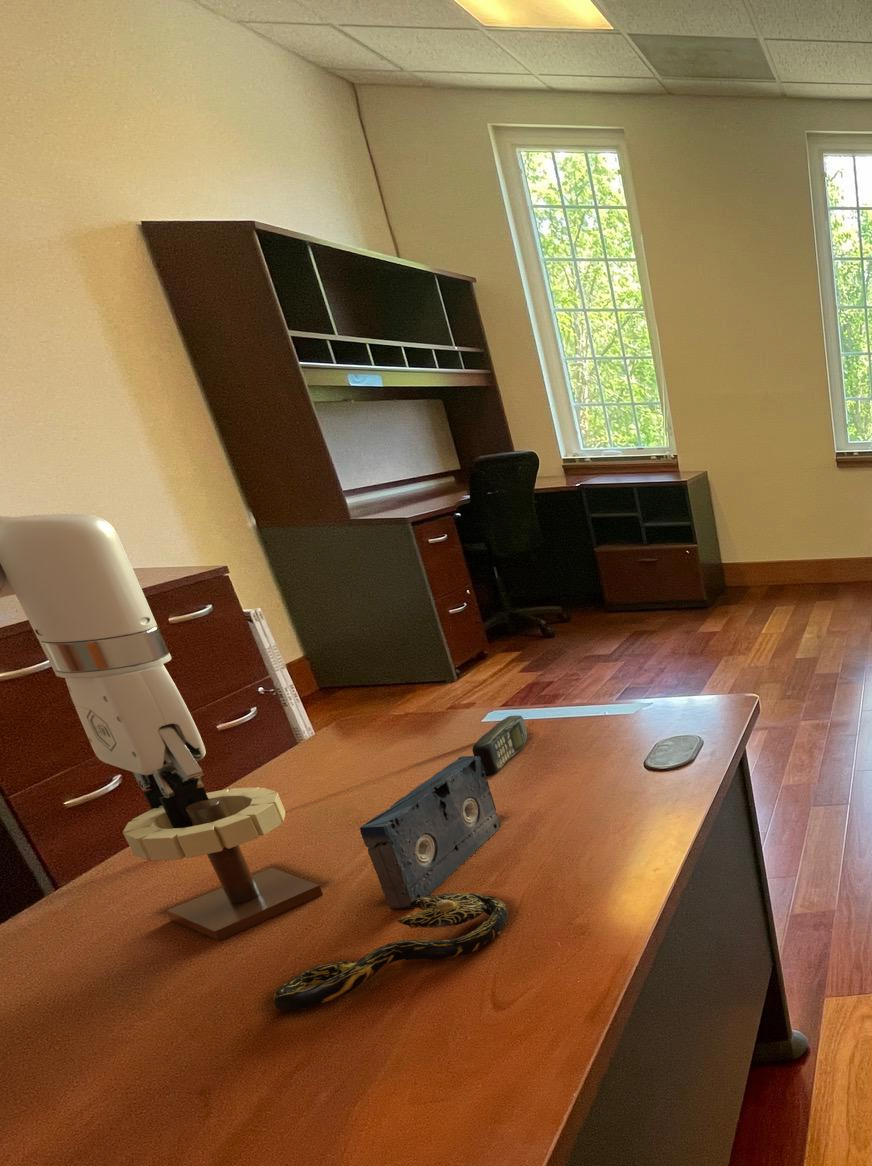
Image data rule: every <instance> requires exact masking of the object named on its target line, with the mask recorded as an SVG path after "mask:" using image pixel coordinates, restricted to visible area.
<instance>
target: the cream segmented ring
mask: <svg viewBox="0 0 872 1166" xmlns="http://www.w3.org/2000/svg"><path fill="white" fill-rule="evenodd" d="M206 794H207V796H208V799H209V800H218V801H219V802H220V805H221V807H222V809H223V811H224V813H225V816H226V818H223V819H220V820H217V821H214V822H211V823H206V824H201V825H196V826H191V827H186V828H173V826H172V824H171V822H170V820H169V818H168V816H167V814H166V812H165V810H164V808H163V806H159V808H153V809H151V808H150V809H149V810H148V811H146V812H144V813H141V814H140V815H137V816H136V817H134V818H132V819H130V820H131V821H129V822H127V824H126V825H125V827H124V829H123V830H122V835H123V837H124V838H125V841H126V842H127V844H128V846H129V848H130V850H131V852H132V854H133V855H134V856H136V857H138V858H141V859H143V860H145V861H149V860H151V862H157V861H159V862H160V861H176V860H179V861H180V860H182V859H184V858H186V859H191V858H192V859H193V858H196V857H200V856H205V855H206V856H207V854H210V853H215V852H219V851H222V850H223V847H225V848H228V849H230V848H232V847H235V846H238V845H239V846H240V845H242V844H246V843H248V842H251V841H254V840H256V839H259V838H260V836H265V835H267V834H268V833H270V832H271V831H273V830H274V829H276V828H278V827H280V826H281V825H282V824H283V823H284V821H285V819H286V818H285V817H286V813H287V812H286V810H285V807H284V805H283V802H282V800H281V798H280V795H279V793H278V792H277V791H275V790H272V789H269V788H265V787H259V786H255V787H233V788H231V789H229V788H226V789H221V790H216V791H210V792H206Z"/></svg>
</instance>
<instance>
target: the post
mask: <svg viewBox="0 0 872 1166" xmlns="http://www.w3.org/2000/svg"><path fill="white" fill-rule="evenodd" d="M186 811H187V813H188V815H189V817H190V819H191V821H192V824H193V826H196V825H201V824H206V823H211V822H214V821H217V820H220V819H223V818H226V816H225V813H224V811H223V809H222V807H221V805H220V802H219V801H218V800H204V801H200V802H196V803H194V804H191V805H189V806H188V807H186ZM241 849H242V848H241V847H240V845H238V846H235V847H232V848H230V849H228V848H225V847H223V850H222V851H219V852H215V853H210V854H206V856H207V858H208V859H209V862H210V864H211V867H212V869H213V870H214V873H215V874H216V877H217V879H218V881H219V883H220V885H221V887H220V888H218V889H215V890H213V891H210V892H208V893H205V894H203V895H200V896H198V897H195V898H193V899H191V900H188V901H186V902H184V903H181V904H179V905H176V906H173V907H171V908H169V909H166V912H167V914H168V916H169V918H170V920H171V921H173V922H176V923H178V924H180V925H182V926H184V927H186V928H188V929H191V930H193V931H195V932H198V933H200V934H203V935H204V936H207V937H209V938H210V939H211V938H212V939H213V940H216V941H218V942H221V941H223V940H226V939H228V938H230V937H232V936H234V935H237V934H239V933H241V932H244V931H246V930H248V929H250V928H252V927H254V926H257V925H259V924H261V923H263V922H266V921H267V920H270V919H272V918H274V917H277V916H279V915H281V914H283V913H286V912H288V911H290V910H293V909H294V908H296V907H299V906H301V905H302V904H306V903H307V902H309V901H313V900H315V899H316V898H318V897H321V896H324V893H323V890H322V888H321V885H319V884H317V883H314V882H311V881H308V880H307V879H303V878H301V877H298V876H295V875H292V874H290V873H287V872H284V871H281V870H279V869H276V868H274V867H269V868H267V869H264V870H262V871H260V872H257V873H255V874H252V871H251V869H250V866H249V865H248V863H247V860H246V858H245V856H244V854H243V851H242V850H241Z"/></svg>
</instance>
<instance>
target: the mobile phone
mask: <svg viewBox="0 0 872 1166" xmlns="http://www.w3.org/2000/svg"><path fill="white" fill-rule="evenodd" d="M527 741H528V732H527V727H526V723H525V719H524V718H523V716H522V715H519V714H518V715H517V714H516V715H509V716H506V717H505V718H504V719H502V720H501V721H499V722H498V723H496V724H495V725H494V726H493V727H491V729H490V730H489V731H487V732H486V733H484V734H483V735H481V737H480V738H479V739H477V741H476V742H475V743H474V744H473V746H472V754H473V755H472V756H480V758H481V760H480V761H481V762H482V764H483V766H484V770H485V774H486V776H487V775H488V776H489V775H494V774H496V773H498V772H499V771H500V770H501V769H502V768H503V767H504V766H505V765H506V764H507V763H508V762H509V761H510V760H511V759H513V757H514V756H516V755H517V754H518V753H519V752H520V751H522V750H523V748H524V747H525V746H526V742H527Z"/></svg>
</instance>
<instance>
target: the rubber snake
mask: <svg viewBox="0 0 872 1166" xmlns="http://www.w3.org/2000/svg"><path fill="white" fill-rule="evenodd" d="M410 905H411V907H415V908H414V909H417V910H421V911H418V912H413V913H411V914H408V915H404V916H402V917H399V918H397V923H399V924H402V925H404V926H408V927H409V928H411V929H417V928H427V929H435V928H436V929H438V928H447V927H455V926H458V925H462V924H465V923H467V922H470V921H472V920H474V919H476V918H478V917H480V916H481V915H482V914H483V913H484V914H487V915H488V916H489V917H488V919H486V920H484V921H483V922H482V923H481V924H480V925H478V926H477V927H476V928H475V929H473V930H472V931H471V932H469V933H467V934H465V935H462V936H459V937H457V938H456V937H455V938H452V939H444V940H443V939H442V940H424V939H422V940H421V939H417V940H416V939H412V940H411V939H408V940H407V939H401V940H397V941H393V942H389V943H386V944H384V945H382V946H379V947H377V948H375V949H374V950H372V951H370V952H368V953H367V954H366V955H364V956H363V957H361V958H359V960H358V961H356V962H354V961H347V960H345V961H336V962H329V963H326V964H321V965H318V966H316V967H313V968H311V969H307V970H305V971H303V972H301V973H299V974H298V975H296V976H294V977H293V978H292V979H290V980H288V981H287V982H286V983H284V984H282V985H281V986H280V987H279V988H278V989H277V990H276V992H275V993H274V994H273V1004H274V1007H275V1008H276V1009H278V1010H283V1011H288V1012H290V1011H298V1010H306V1009H308V1008H311V1007H314V1006H318V1005H321V1004H324V1003H326V1002H329V1001H332V1000H335V999H337V998H340V997H342V996H345V995H348V994H349V993H350V992H352V991H354V990H355V989H358V988H359V987H361V986H362V985H363V984H365V983H366V982H367V981H368V980H370V978H372V977H373V976H374V975H376V974H378V972H379V971H380V970H382V969H383V968H385V967H387V966H389V965H390V964H392V963H394V962H397V961H403V960H404V961H411V960H416V961H417V960H423V959H424V960H428V961H441V960H447V959H452V958H456V957H459V956H464V955H468V954H470V953H474V952H476V951H478V950H479V949H481V948H482V947H483V946H484V945H486V944H489V943H490V942H493V940H494V939H496V938H497V937H498V936H499V935H500V934H501V932H502V931H503V929H504V927H505V925H506V923H507V920H508V916H509V912H508V911H509V910H508V907H507V906H506V904H505V903H504V901H502V900H500V899H497V897H494V896H491V895H486V894H482V893H477V892H473V893H472V892H471V893H470V892H461V893H453V892H452V893H442V894H435V895H428V896H426V897H421V898H416V899H414V900H412V901H411V902H410Z"/></svg>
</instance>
